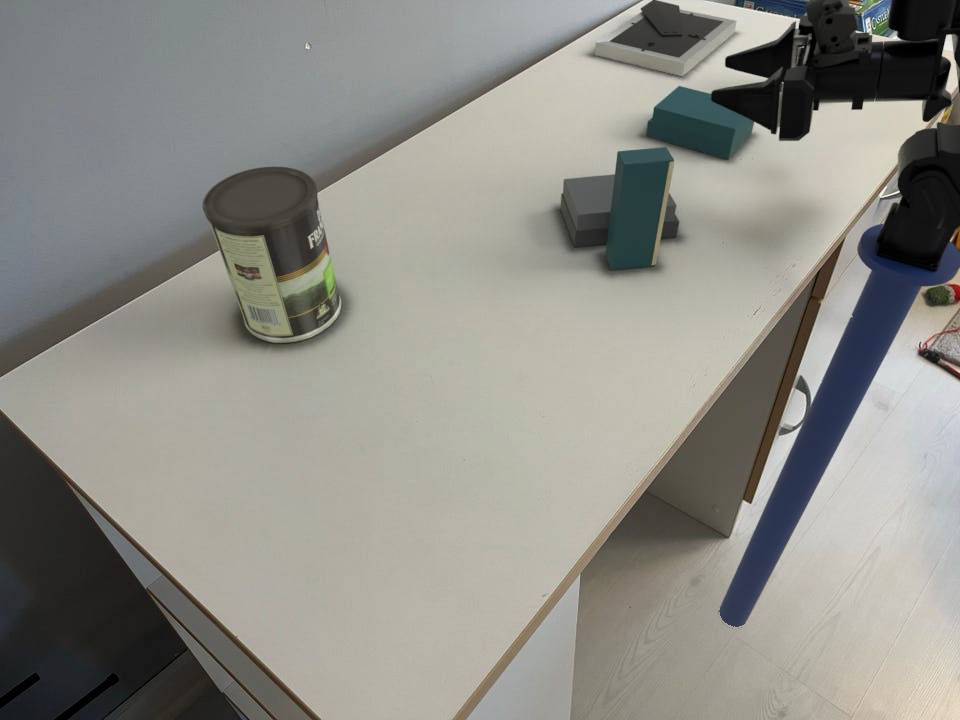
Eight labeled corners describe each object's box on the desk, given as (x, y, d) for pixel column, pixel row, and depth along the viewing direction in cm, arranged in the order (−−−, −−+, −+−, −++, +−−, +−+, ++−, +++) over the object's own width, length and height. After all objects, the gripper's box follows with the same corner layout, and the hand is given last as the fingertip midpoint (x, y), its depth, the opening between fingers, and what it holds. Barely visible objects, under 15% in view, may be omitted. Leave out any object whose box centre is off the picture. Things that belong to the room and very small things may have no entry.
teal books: (751, 135, 99) (758, 104, 96) (728, 160, 94) (735, 129, 91) (670, 113, 104) (675, 83, 101) (645, 136, 99) (649, 106, 96)
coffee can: (340, 274, 80) (316, 160, 70) (342, 336, 72) (315, 219, 62) (246, 285, 79) (208, 171, 69) (239, 349, 71) (195, 232, 61)
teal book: (648, 251, 81) (666, 146, 72) (655, 266, 79) (675, 159, 70) (604, 256, 80) (617, 150, 71) (610, 270, 78) (624, 164, 69)
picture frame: (651, 15, 131) (594, 55, 119) (653, -1, 129) (596, 37, 117) (734, 33, 124) (682, 76, 112) (737, 16, 122) (685, 58, 110)
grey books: (656, 199, 88) (661, 167, 85) (676, 237, 83) (683, 204, 79) (560, 208, 87) (562, 177, 84) (574, 247, 82) (576, 214, 79)
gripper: (893, -43, 73) (734, -28, 80) (891, 22, 61) (703, 34, 68) (875, 66, 81) (730, 72, 87) (870, 143, 69) (702, 143, 75)
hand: (718, 78), depth 79 cm, fingers open, 9 cm apart
